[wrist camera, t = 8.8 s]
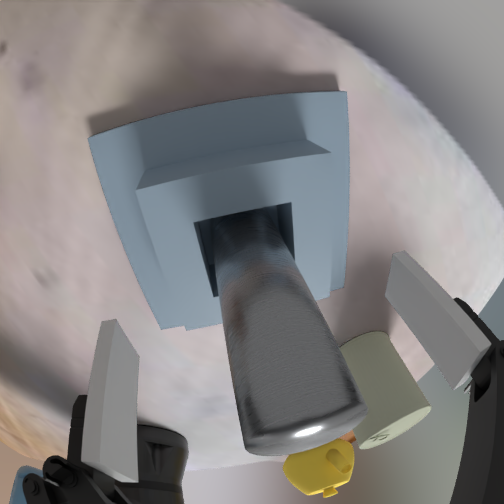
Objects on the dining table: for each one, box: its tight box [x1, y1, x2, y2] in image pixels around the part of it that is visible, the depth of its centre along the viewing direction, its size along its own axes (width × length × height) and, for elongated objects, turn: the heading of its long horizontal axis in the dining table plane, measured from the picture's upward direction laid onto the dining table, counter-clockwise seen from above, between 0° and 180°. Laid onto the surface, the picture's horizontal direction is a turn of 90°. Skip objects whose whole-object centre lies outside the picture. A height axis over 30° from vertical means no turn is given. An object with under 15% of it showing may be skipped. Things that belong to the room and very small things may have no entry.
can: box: [339, 331, 431, 449], centre depth 28 cm, size 9×9×12 cm
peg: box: [210, 207, 368, 456], centre depth 13 cm, size 4×4×14 cm
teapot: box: [283, 439, 354, 498], centre depth 45 cm, size 20×16×14 cm
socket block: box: [88, 91, 350, 331], centre depth 18 cm, size 16×16×4 cm
